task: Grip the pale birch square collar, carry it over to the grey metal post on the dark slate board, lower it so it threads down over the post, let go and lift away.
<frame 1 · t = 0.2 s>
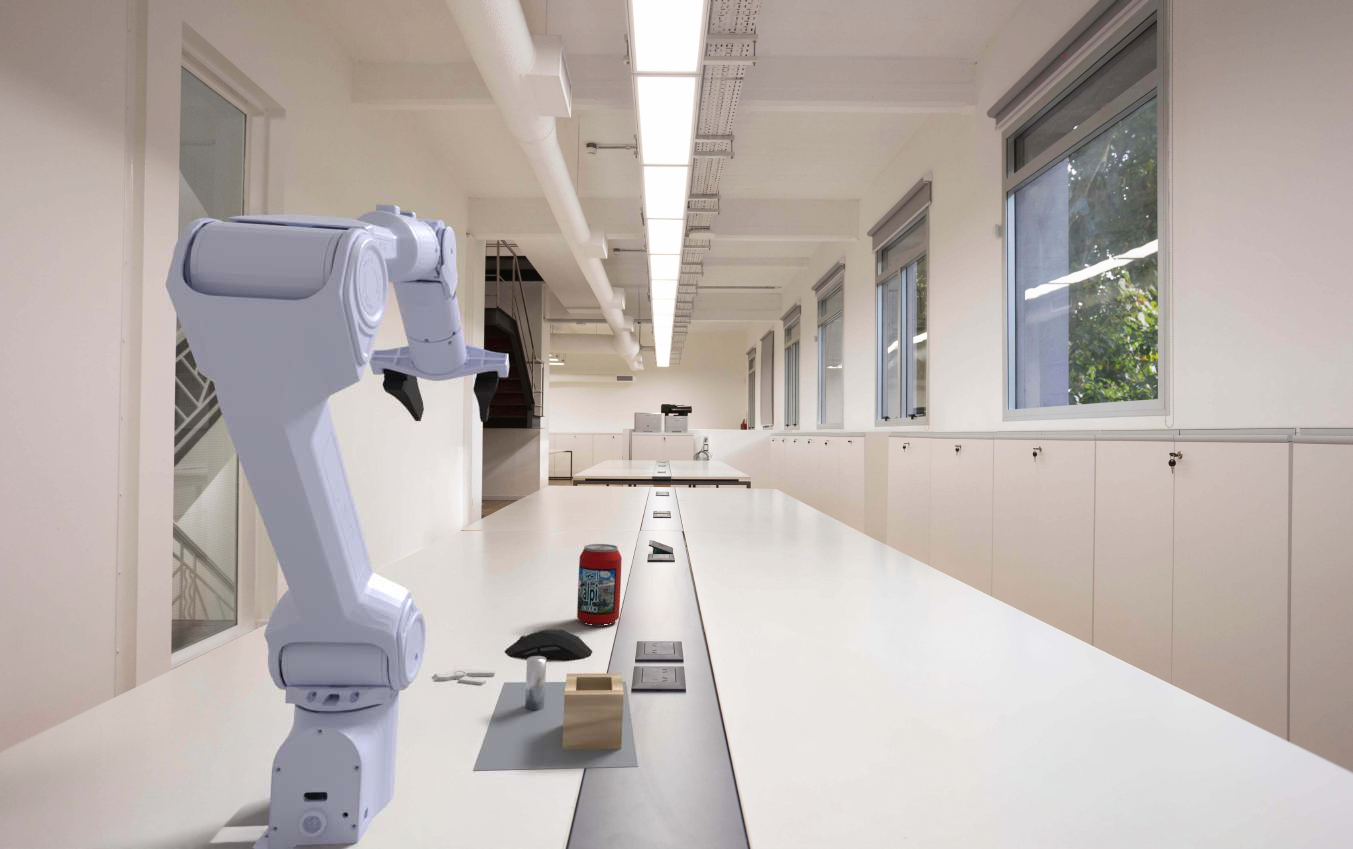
hand: (452, 415, 79), 31 cm above the table, tool tilted 45°, fingers open, 7 cm apart
slate board: (561, 726, 66), on the table
steel post: (534, 706, 69), resting on slate board
pliers: (429, 685, 77), on the table
gaming mouse: (537, 662, 86), on the table
birch collar: (591, 735, 62), point 1 cm above the table, touching slate board
beverage can: (597, 622, 104), on the table
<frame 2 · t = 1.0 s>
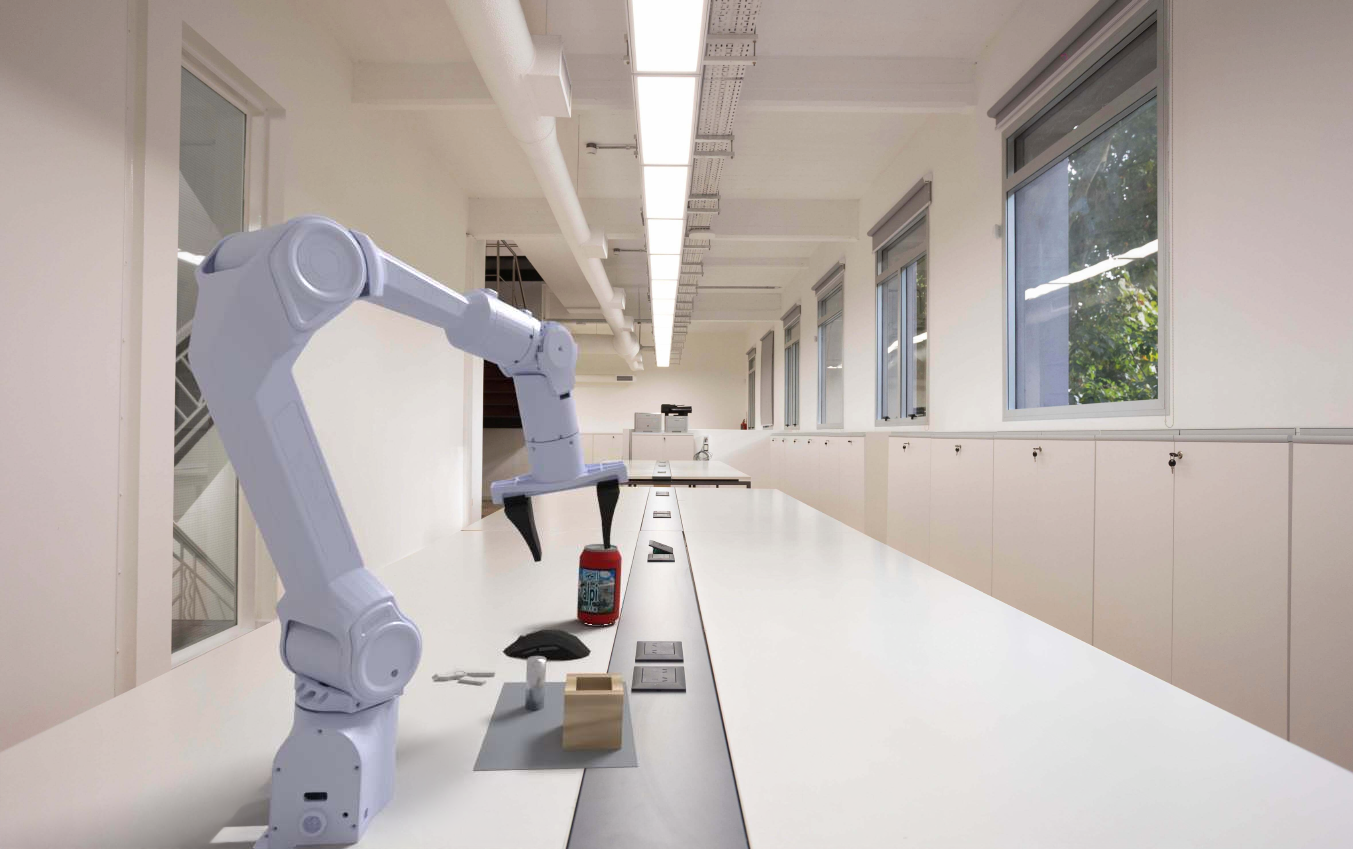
hand: (573, 551, 73), 17 cm above the table, tool tilted 20°, fingers open, 7 cm apart
nothing on the table moved.
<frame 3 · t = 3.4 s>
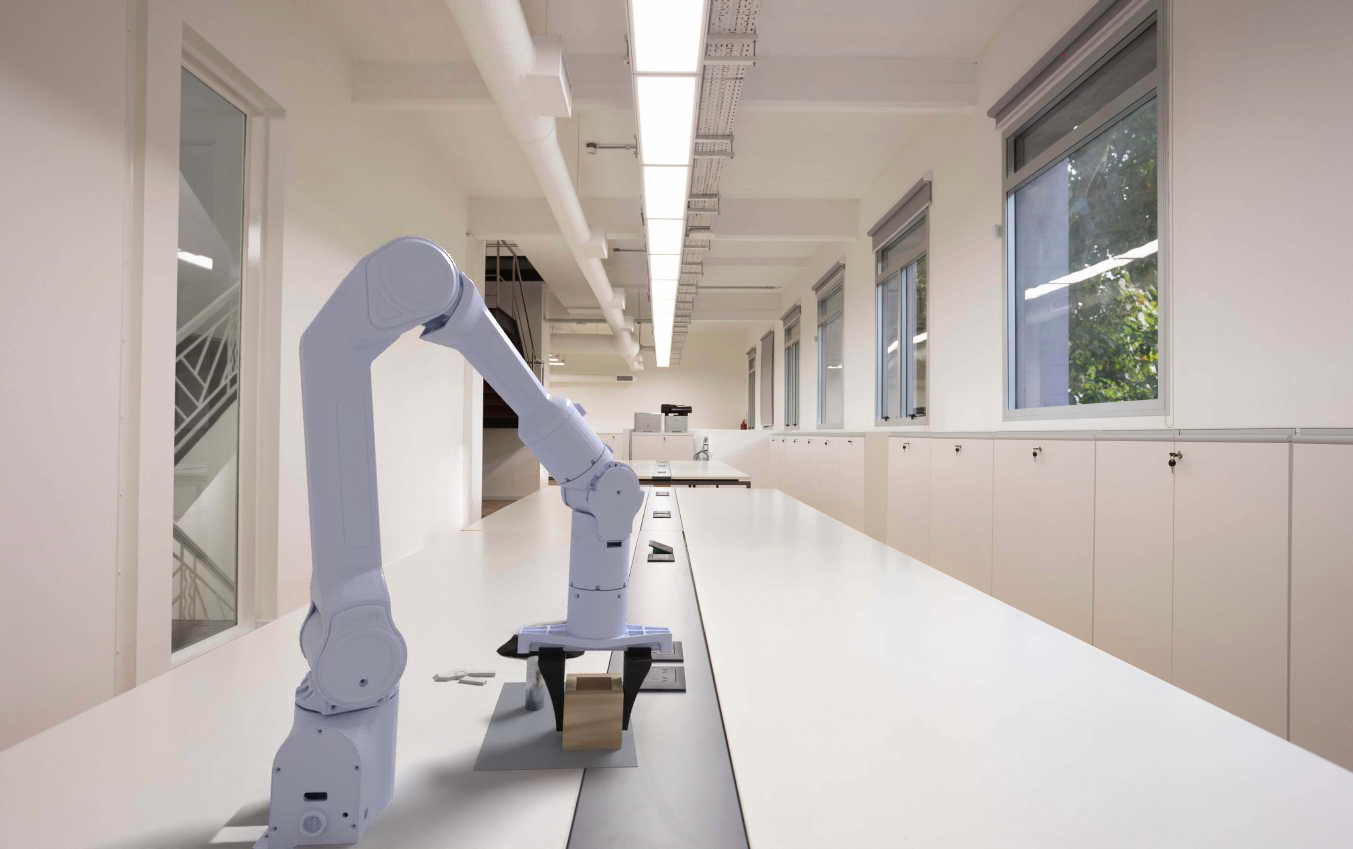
hand: (592, 726, 62), 2 cm above the table, tool pointing down, fingers closed on birch collar, 5 cm apart
birch collar: (591, 735, 62), point 1 cm above the table, touching gripper, slate board
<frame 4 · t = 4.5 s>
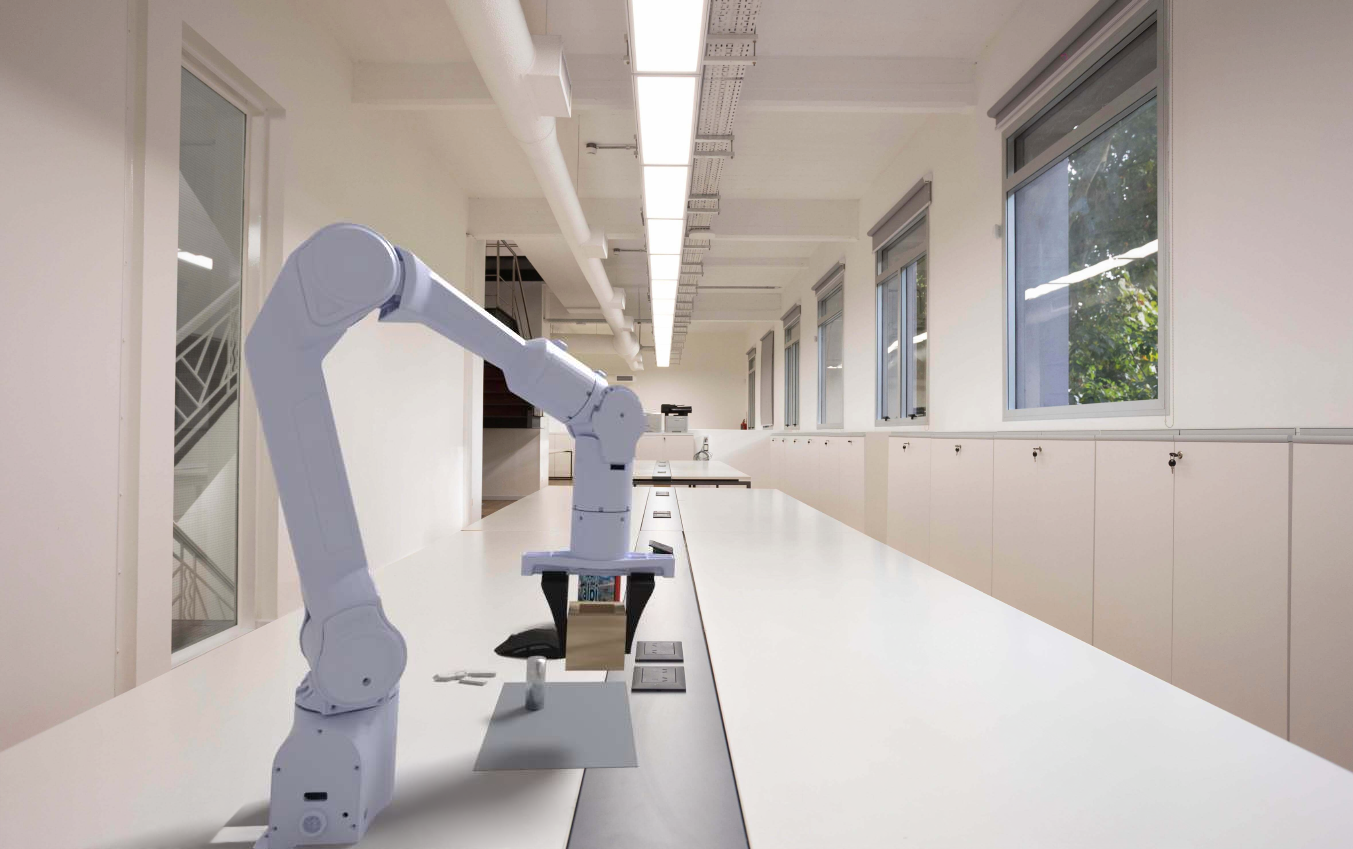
hand: (595, 650, 63), 9 cm above the table, tool pointing down, fingers closed on birch collar, 5 cm apart
birch collar: (594, 660, 63), point 8 cm above the table, touching gripper
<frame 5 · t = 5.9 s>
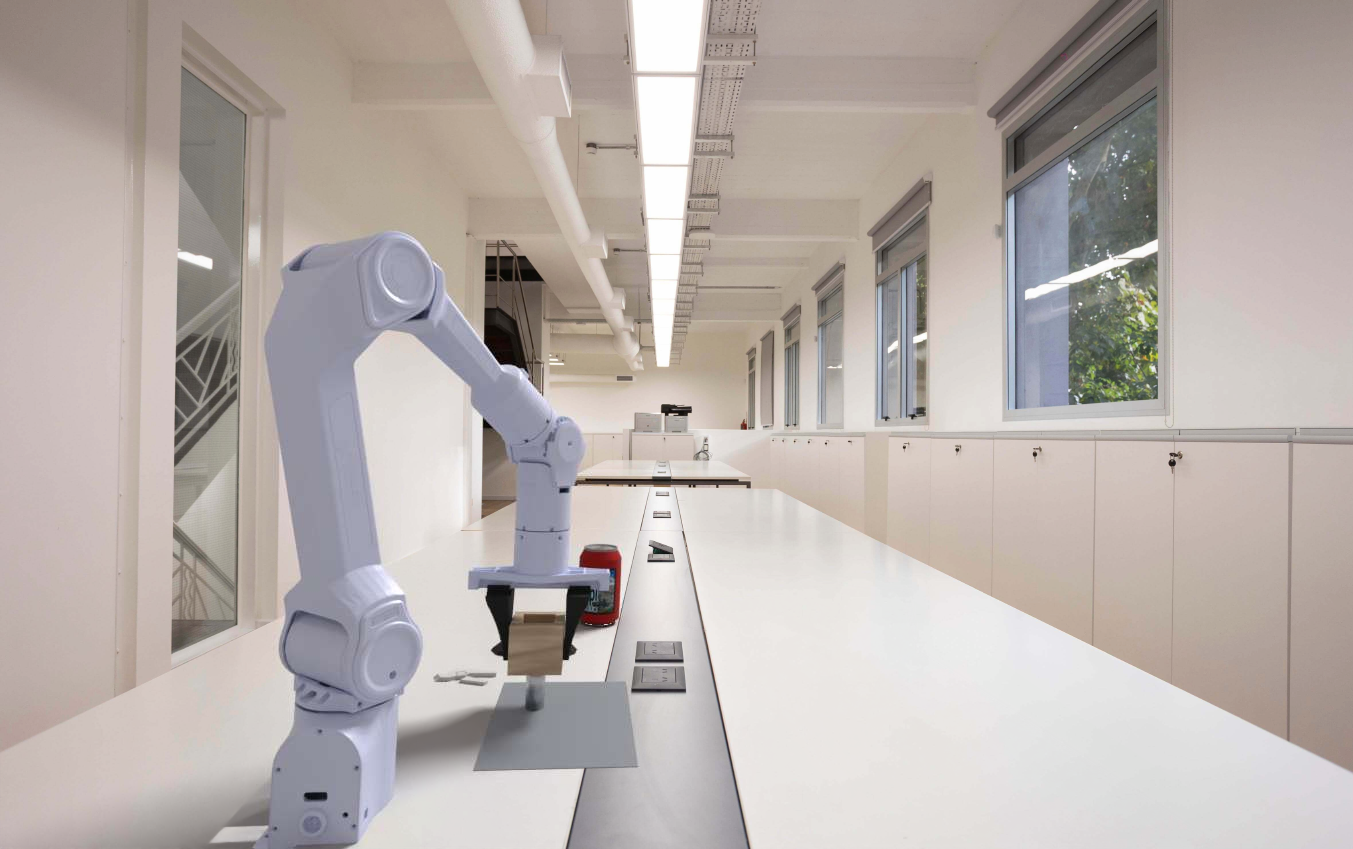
hand: (537, 657, 69), 6 cm above the table, tool pointing down, fingers closed on birch collar, 5 cm apart
birch collar: (536, 665, 69), point 5 cm above the table, touching gripper
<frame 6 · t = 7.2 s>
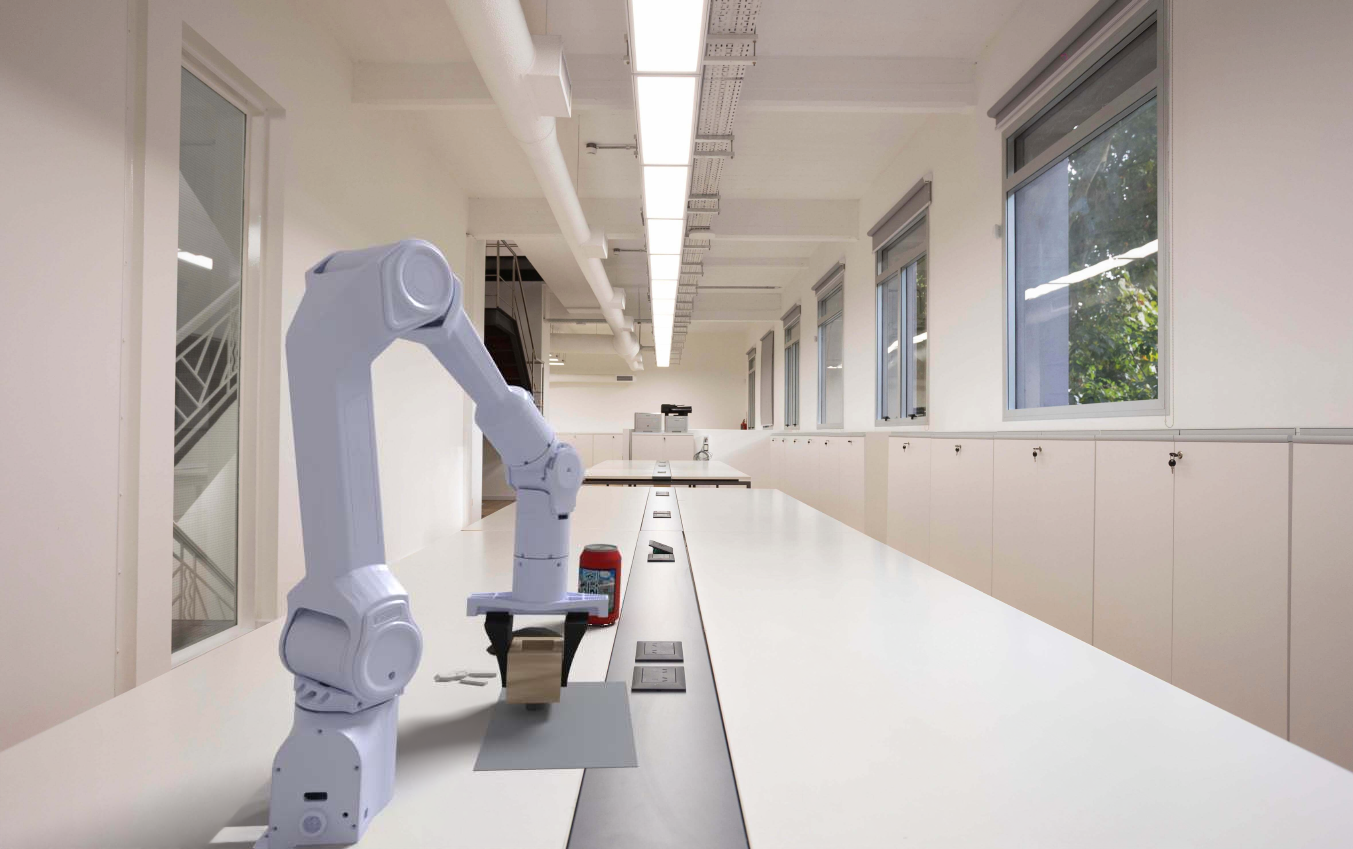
hand: (535, 683, 69), 3 cm above the table, tool pointing down, fingers closed on birch collar, 5 cm apart
birch collar: (534, 692, 69), point 2 cm above the table, touching gripper
when the fingers open (3 cm above the table, at t = 7.3 s): birch collar drops 1 cm, resting on slate board.
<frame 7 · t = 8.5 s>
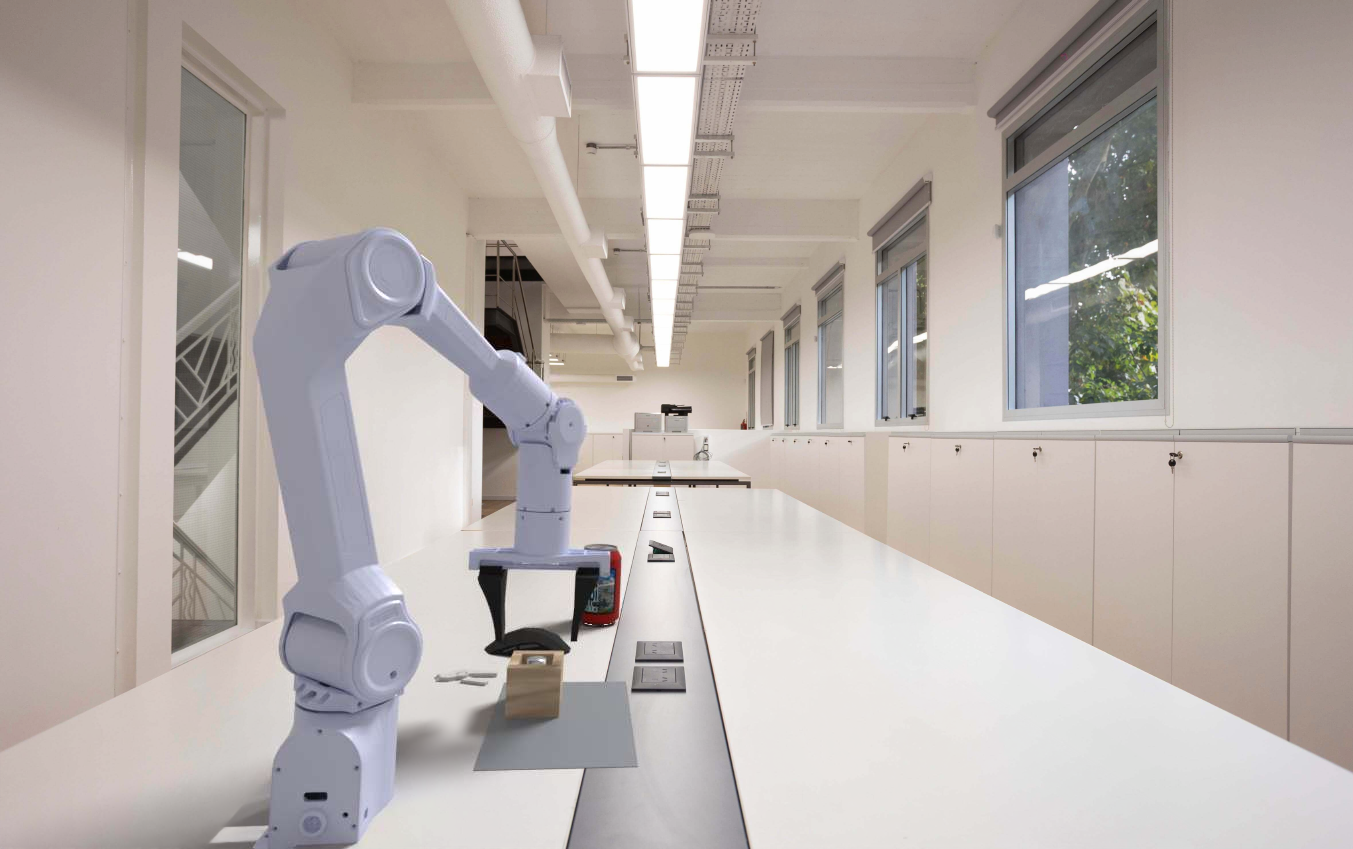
hand: (537, 638, 69), 8 cm above the table, tool pointing down, fingers open, 7 cm apart
birch collar: (534, 706, 69), point 1 cm above the table, touching slate board
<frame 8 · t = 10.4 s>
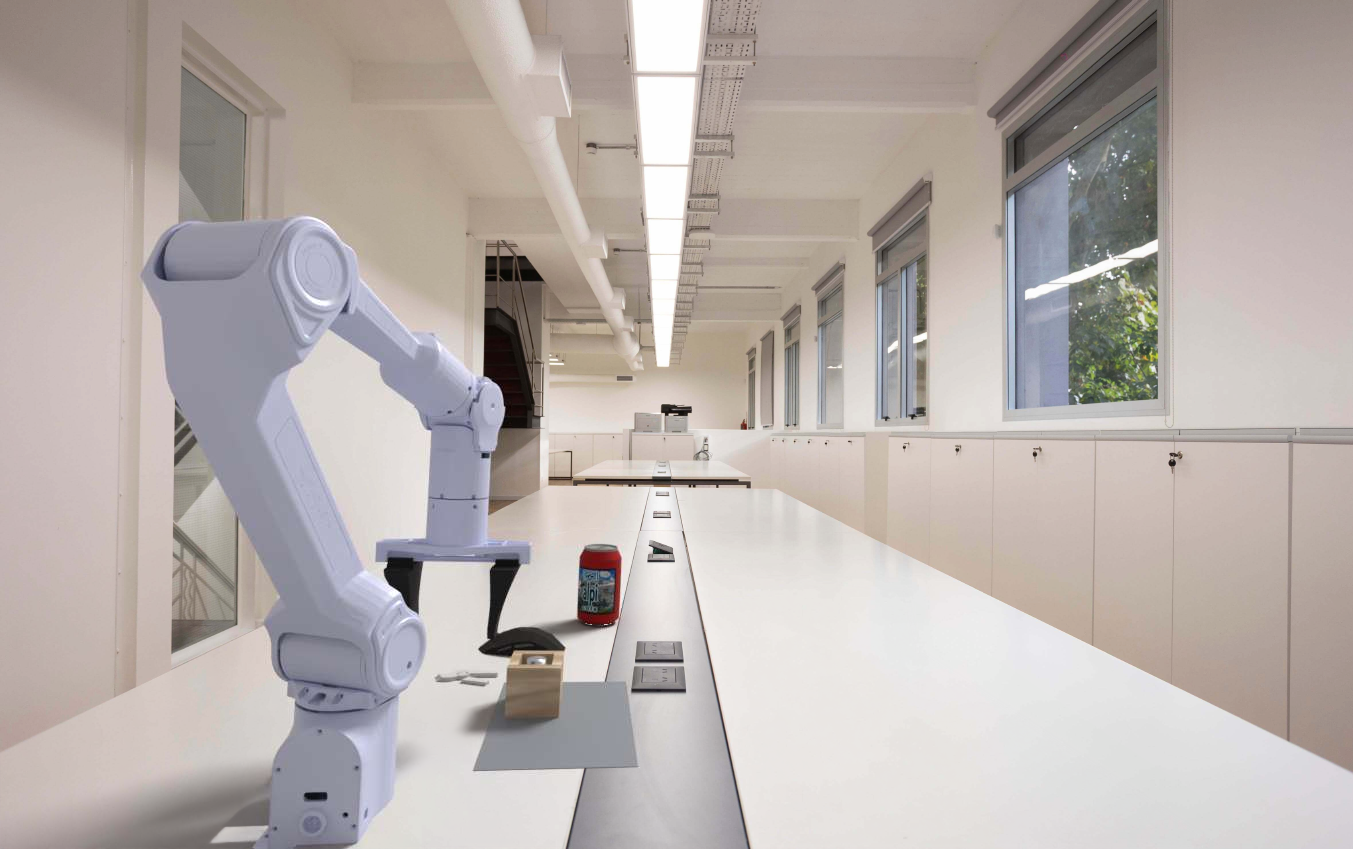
hand: (452, 636, 64), 9 cm above the table, tool pointing down, fingers open, 7 cm apart
at the end: birch collar 0.0 cm from the steel post (horizontally); birch collar point 0.8 cm above the table; the gripper is holding nothing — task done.
